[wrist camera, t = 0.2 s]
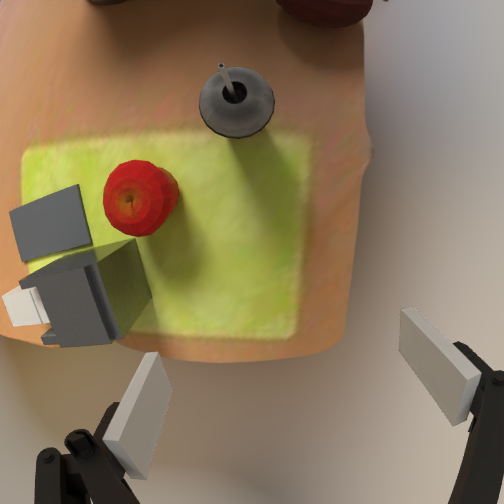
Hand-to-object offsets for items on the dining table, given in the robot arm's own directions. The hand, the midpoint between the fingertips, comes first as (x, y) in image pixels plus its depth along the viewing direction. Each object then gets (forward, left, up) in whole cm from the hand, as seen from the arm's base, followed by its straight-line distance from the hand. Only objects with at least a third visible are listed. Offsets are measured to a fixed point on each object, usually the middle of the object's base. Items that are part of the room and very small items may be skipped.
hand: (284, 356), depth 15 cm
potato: (-32, +14, -28) cm, 45 cm away
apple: (-9, -13, -28) cm, 32 cm away
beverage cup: (-16, 0, -28) cm, 32 cm away
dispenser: (+1, -24, -28) cm, 37 cm away
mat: (-9, -33, -28) cm, 44 cm away
